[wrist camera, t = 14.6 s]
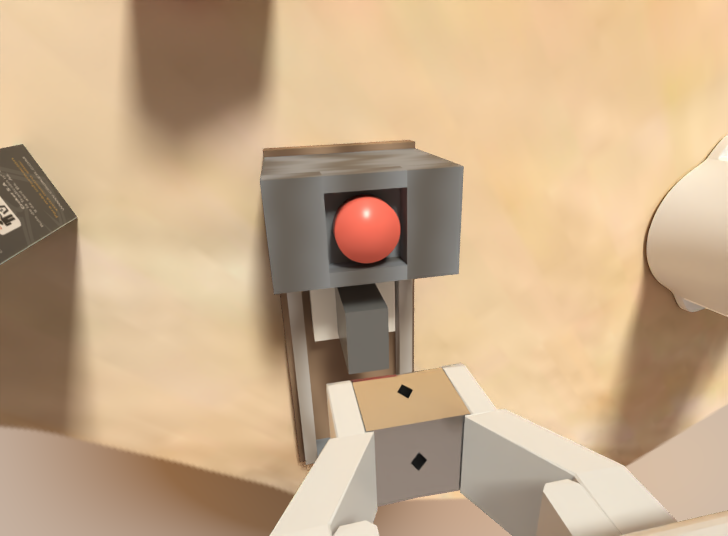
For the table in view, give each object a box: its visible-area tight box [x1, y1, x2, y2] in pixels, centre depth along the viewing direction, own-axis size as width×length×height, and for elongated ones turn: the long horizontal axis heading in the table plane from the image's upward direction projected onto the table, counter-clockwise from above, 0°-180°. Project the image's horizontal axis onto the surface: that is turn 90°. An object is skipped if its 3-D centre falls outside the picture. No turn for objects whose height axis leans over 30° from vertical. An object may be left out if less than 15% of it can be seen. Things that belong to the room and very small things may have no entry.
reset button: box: [332, 194, 400, 263], centre depth 27 cm, size 4×4×2 cm
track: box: [260, 140, 464, 465], centre depth 36 cm, size 12×31×12 cm, turn 3°
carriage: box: [309, 281, 395, 374], centre depth 35 cm, size 7×6×8 cm
